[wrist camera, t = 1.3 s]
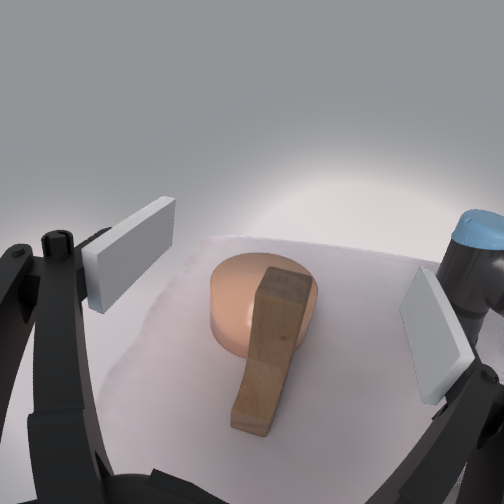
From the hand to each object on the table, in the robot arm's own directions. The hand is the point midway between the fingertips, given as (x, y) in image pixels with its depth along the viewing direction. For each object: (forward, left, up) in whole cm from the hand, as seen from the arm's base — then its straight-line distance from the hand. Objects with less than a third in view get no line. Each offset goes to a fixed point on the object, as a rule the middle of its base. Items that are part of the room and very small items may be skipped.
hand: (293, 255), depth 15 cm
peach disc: (+1, -21, -27) cm, 34 cm away
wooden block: (0, -6, -27) cm, 28 cm away
